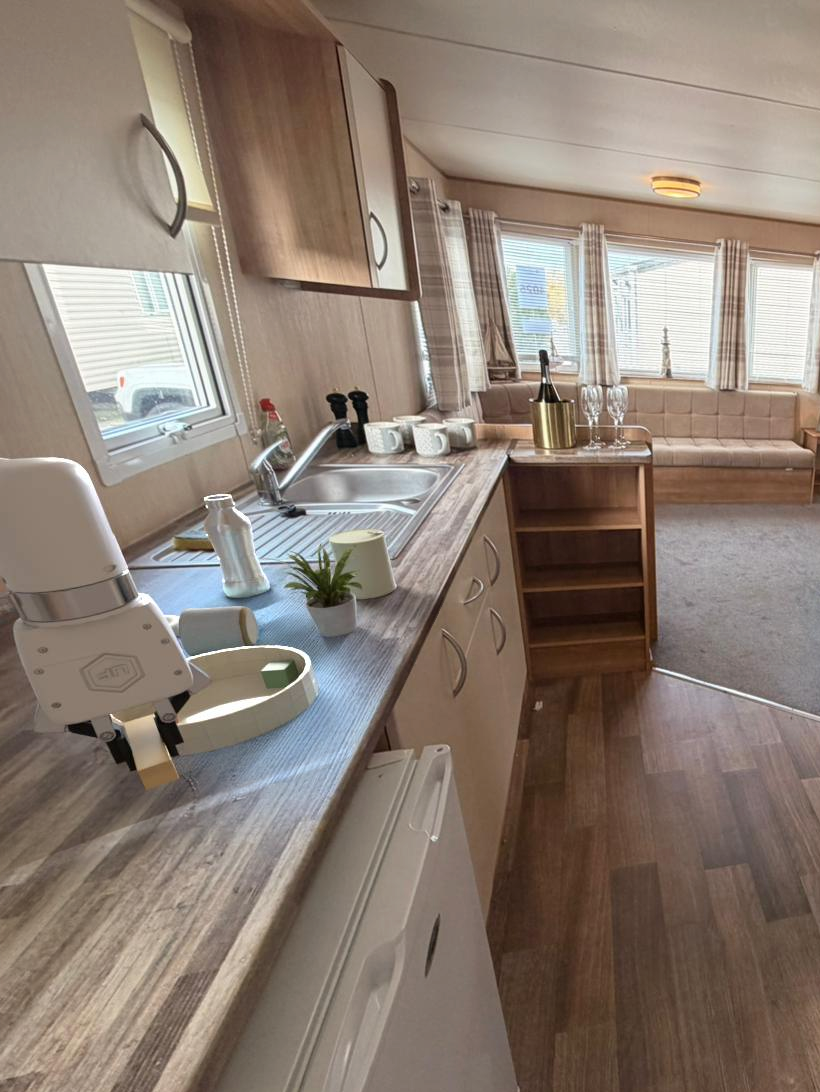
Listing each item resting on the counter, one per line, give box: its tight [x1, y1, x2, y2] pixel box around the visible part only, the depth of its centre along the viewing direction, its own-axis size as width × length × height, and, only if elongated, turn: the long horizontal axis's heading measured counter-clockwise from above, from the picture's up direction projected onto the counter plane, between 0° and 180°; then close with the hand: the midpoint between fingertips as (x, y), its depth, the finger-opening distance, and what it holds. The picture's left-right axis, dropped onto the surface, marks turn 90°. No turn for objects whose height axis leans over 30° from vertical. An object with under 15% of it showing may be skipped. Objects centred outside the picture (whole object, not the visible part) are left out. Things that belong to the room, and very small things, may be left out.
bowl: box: [110, 645, 320, 758], centre depth 87 cm, size 21×21×5 cm
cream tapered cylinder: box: [328, 528, 398, 600], centre depth 125 cm, size 9×9×12 cm
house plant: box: [261, 542, 362, 638], centre depth 107 cm, size 14×14×16 cm
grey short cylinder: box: [179, 605, 259, 657], centre depth 104 cm, size 11×8×8 cm
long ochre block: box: [123, 714, 180, 791], centre depth 66 cm, size 11×2×2 cm, turn 49°
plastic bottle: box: [203, 494, 271, 599], centre depth 117 cm, size 6×7×20 cm
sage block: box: [261, 660, 299, 689], centre depth 94 cm, size 3×3×3 cm
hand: (153, 756), depth 66 cm, fingers closed on long ochre block, 2 cm apart
